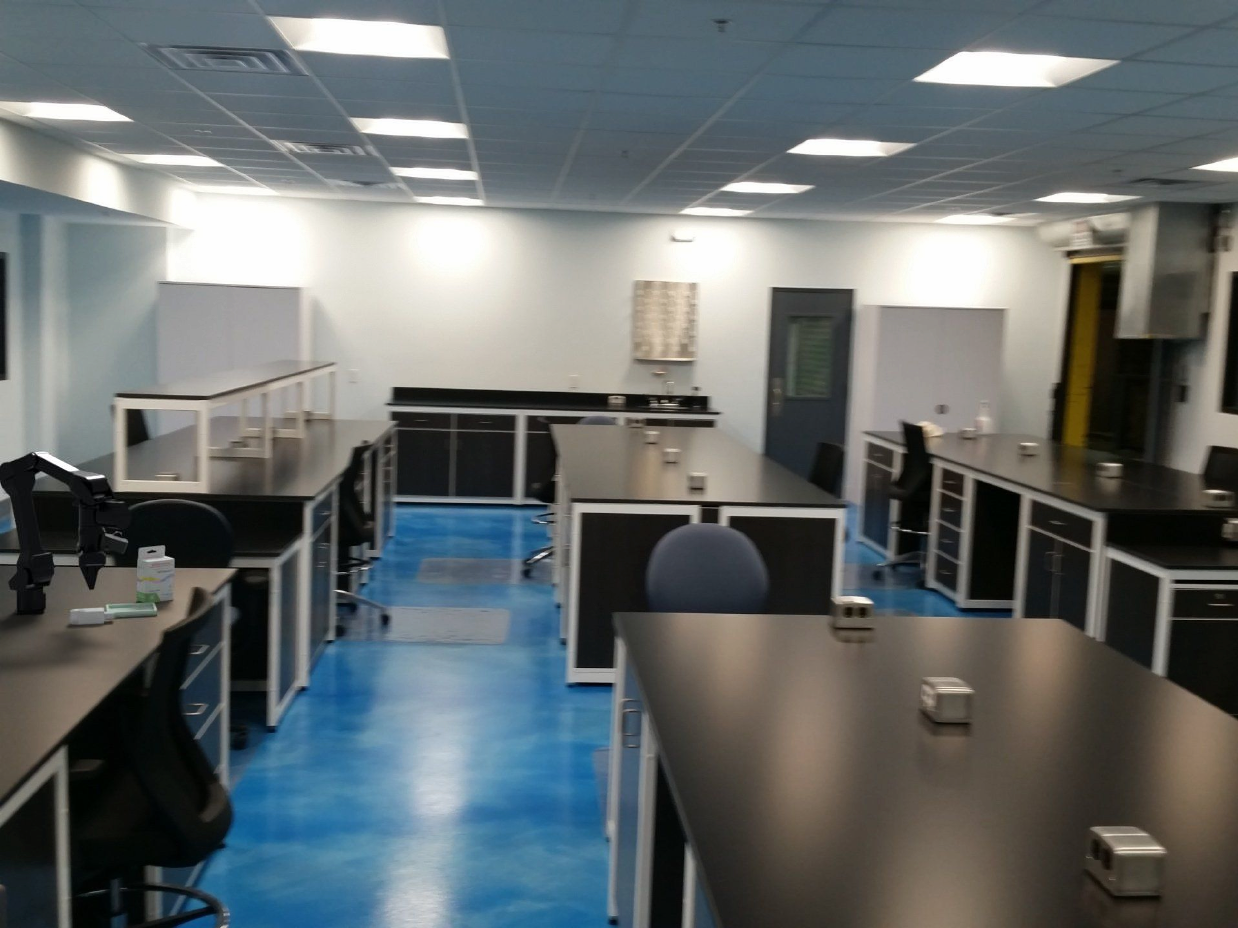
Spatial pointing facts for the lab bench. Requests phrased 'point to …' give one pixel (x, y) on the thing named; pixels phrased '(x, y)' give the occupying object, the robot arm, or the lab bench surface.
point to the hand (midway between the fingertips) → (90, 585)
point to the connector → (89, 616)
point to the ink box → (154, 575)
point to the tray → (132, 609)
